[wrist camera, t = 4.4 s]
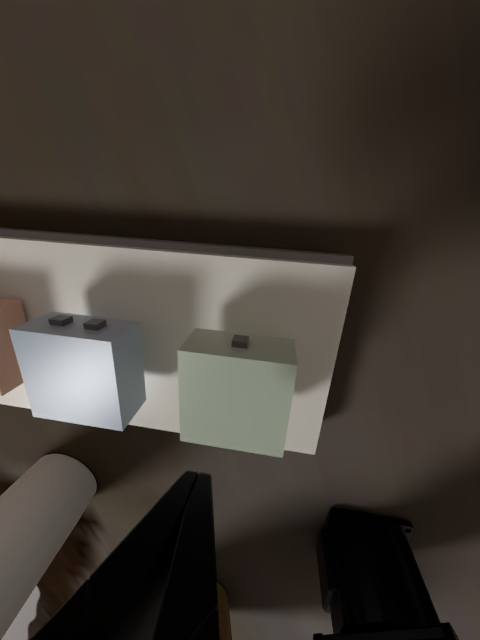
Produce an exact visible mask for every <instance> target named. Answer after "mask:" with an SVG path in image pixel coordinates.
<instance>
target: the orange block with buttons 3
mask: <svg viewBox="0 0 480 640" xmlns="http://www.w3.org/2000/svg"><path fill="white" fill-rule="evenodd" d="M25 322H26V318H25V315H24V311H23V307H22V303H21V301H20V300H11V299H2V298H0V396H3V395H5V394H7V393H8V392H10V391H11V390H13V389H14V388H16V387H18V386H19V385H21V384H22V383H24V382H23V379H22V375H21V372H20V368H19V365H18V361H17V358H16V354H15V351H14V347H13V344H12V340H11V337H10V333H9V330H8V329H10V328H13V327H15V326H18V325H20V324H23V323H25Z"/></svg>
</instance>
